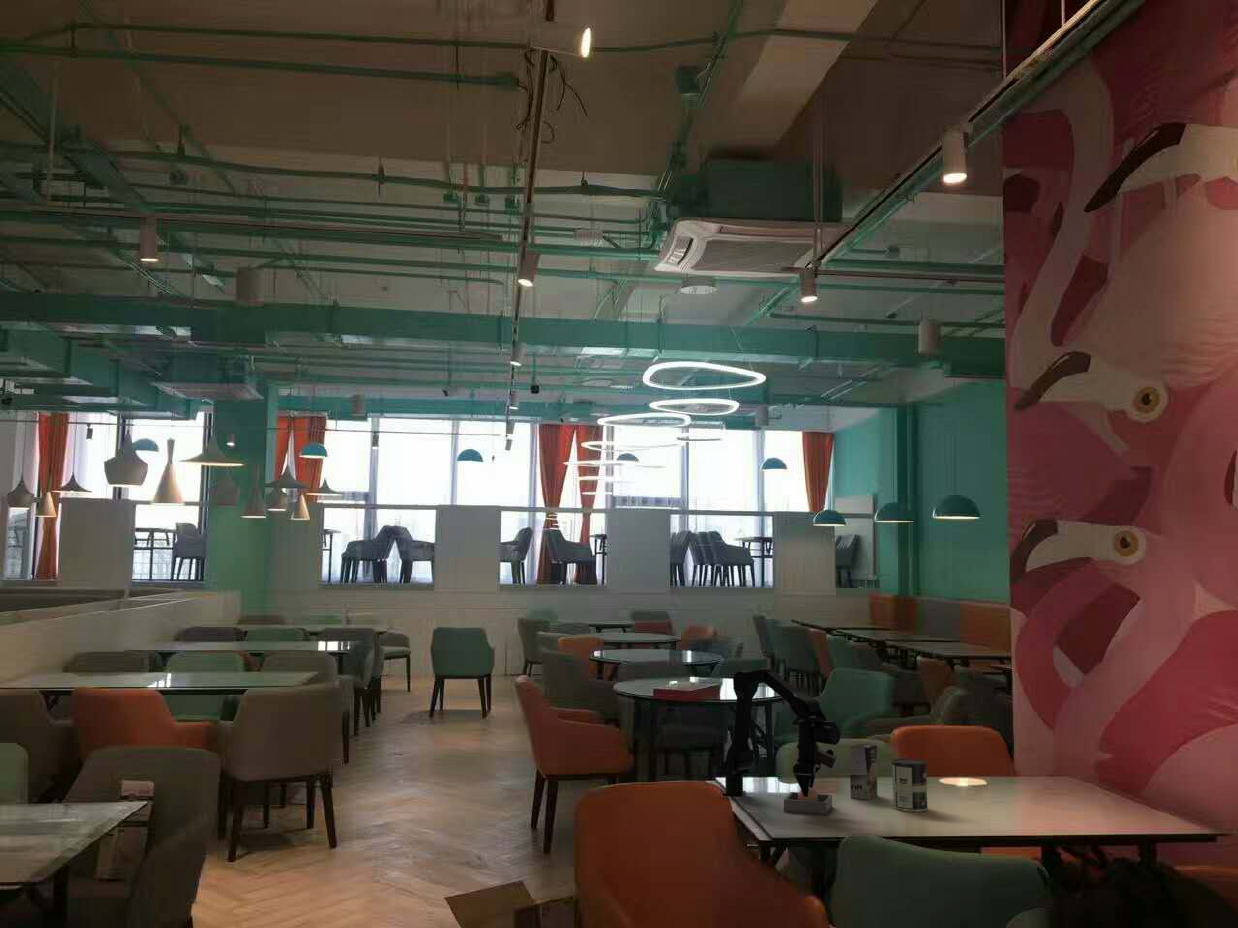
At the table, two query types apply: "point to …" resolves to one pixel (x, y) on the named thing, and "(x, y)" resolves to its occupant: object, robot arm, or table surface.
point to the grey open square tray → (808, 804)
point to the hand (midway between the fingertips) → (808, 793)
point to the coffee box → (863, 771)
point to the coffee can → (909, 785)
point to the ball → (811, 795)
